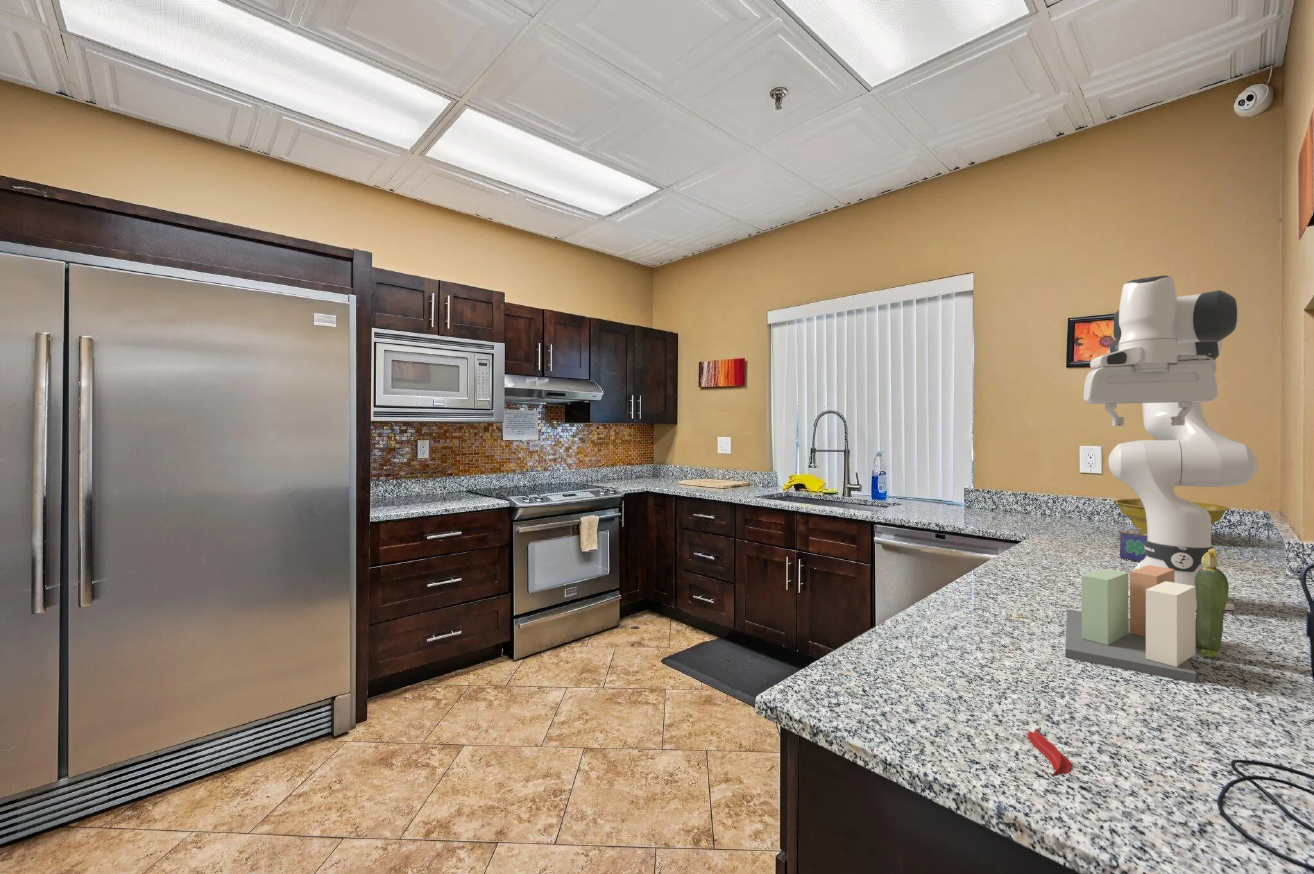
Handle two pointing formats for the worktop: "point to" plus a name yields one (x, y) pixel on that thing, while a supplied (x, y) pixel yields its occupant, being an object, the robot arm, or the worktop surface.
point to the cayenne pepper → (1050, 753)
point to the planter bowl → (1138, 514)
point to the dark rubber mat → (1119, 652)
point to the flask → (1132, 545)
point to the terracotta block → (1144, 593)
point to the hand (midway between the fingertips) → (1147, 425)
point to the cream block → (1170, 623)
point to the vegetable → (1210, 605)
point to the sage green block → (1104, 606)
